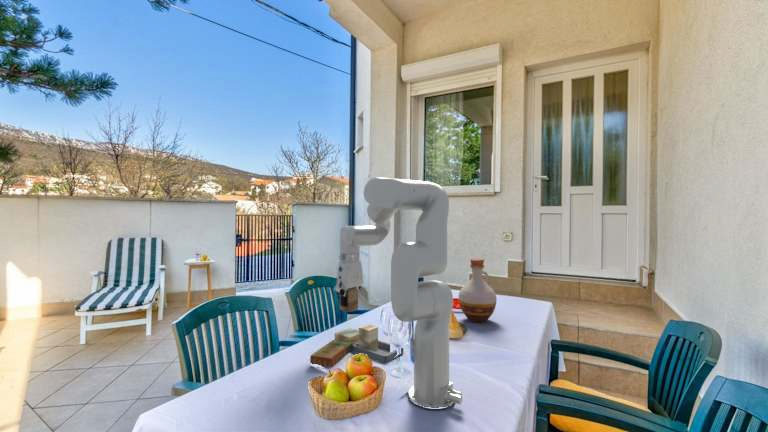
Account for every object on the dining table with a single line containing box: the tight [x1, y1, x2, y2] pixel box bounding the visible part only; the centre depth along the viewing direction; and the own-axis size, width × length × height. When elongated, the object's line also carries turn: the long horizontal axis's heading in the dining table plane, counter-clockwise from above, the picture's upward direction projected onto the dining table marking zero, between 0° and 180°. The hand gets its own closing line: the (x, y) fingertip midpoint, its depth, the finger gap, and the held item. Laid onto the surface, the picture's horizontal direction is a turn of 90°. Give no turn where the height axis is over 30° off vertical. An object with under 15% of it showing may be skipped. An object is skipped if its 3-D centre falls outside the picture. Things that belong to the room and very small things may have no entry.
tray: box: [350, 339, 404, 364], centre depth 118 cm, size 16×10×3 cm, turn 51°
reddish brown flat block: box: [309, 339, 353, 368], centre depth 114 cm, size 8×16×4 cm, turn 161°
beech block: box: [358, 324, 379, 351], centre depth 121 cm, size 5×5×8 cm
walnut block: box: [339, 288, 359, 313], centre depth 127 cm, size 5×5×8 cm
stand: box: [334, 327, 359, 344], centre depth 127 cm, size 8×8×5 cm
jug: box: [458, 257, 497, 324], centre depth 161 cm, size 20×18×30 cm
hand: (349, 304), depth 127 cm, fingers closed on walnut block, 5 cm apart
